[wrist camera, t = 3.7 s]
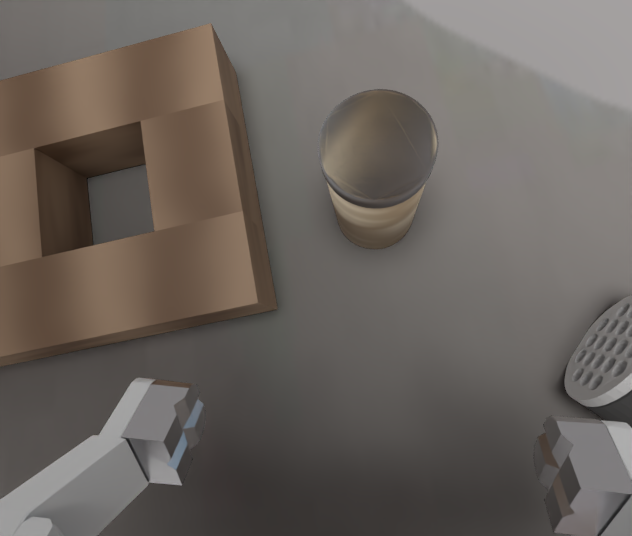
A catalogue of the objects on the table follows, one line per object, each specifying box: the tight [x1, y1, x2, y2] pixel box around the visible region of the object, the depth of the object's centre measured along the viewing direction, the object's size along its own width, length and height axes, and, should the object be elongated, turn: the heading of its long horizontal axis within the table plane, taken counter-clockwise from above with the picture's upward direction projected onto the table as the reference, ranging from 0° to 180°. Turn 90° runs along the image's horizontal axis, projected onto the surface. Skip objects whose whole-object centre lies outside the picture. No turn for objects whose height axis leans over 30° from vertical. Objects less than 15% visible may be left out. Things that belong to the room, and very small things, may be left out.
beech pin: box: [318, 89, 438, 249], centre depth 19 cm, size 4×4×8 cm
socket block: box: [0, 23, 278, 367], centre depth 22 cm, size 20×14×4 cm
